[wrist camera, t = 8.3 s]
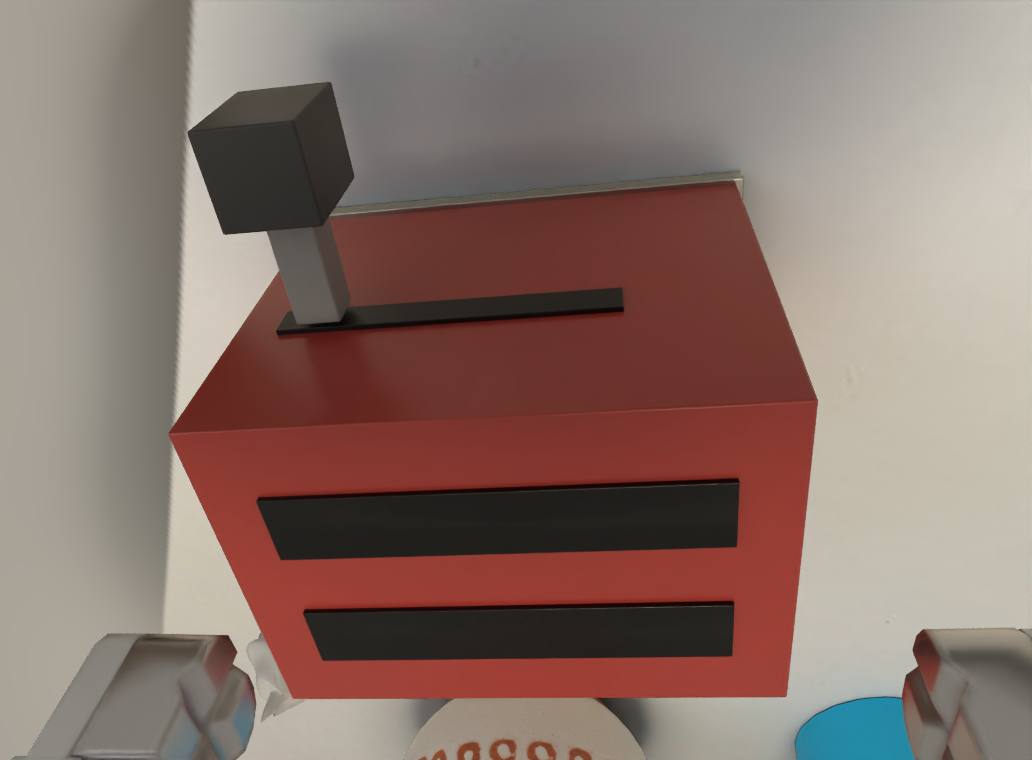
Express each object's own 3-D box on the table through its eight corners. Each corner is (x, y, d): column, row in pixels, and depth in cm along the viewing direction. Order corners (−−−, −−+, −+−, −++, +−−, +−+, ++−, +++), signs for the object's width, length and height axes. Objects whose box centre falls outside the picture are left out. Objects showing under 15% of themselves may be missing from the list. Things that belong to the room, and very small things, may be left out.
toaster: (309, 209, 28) (152, 431, 18) (740, 170, 26) (832, 396, 16) (376, 443, 34) (286, 708, 24) (732, 426, 32) (795, 707, 22)
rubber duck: (281, 514, 37) (214, 668, 30) (419, 561, 38) (382, 719, 31) (256, 586, 40) (190, 739, 33) (385, 627, 41) (345, 784, 34)
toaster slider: (236, 91, 20) (185, 131, 17) (331, 80, 19) (293, 120, 17) (298, 288, 23) (262, 346, 20) (381, 281, 22) (355, 340, 20)
